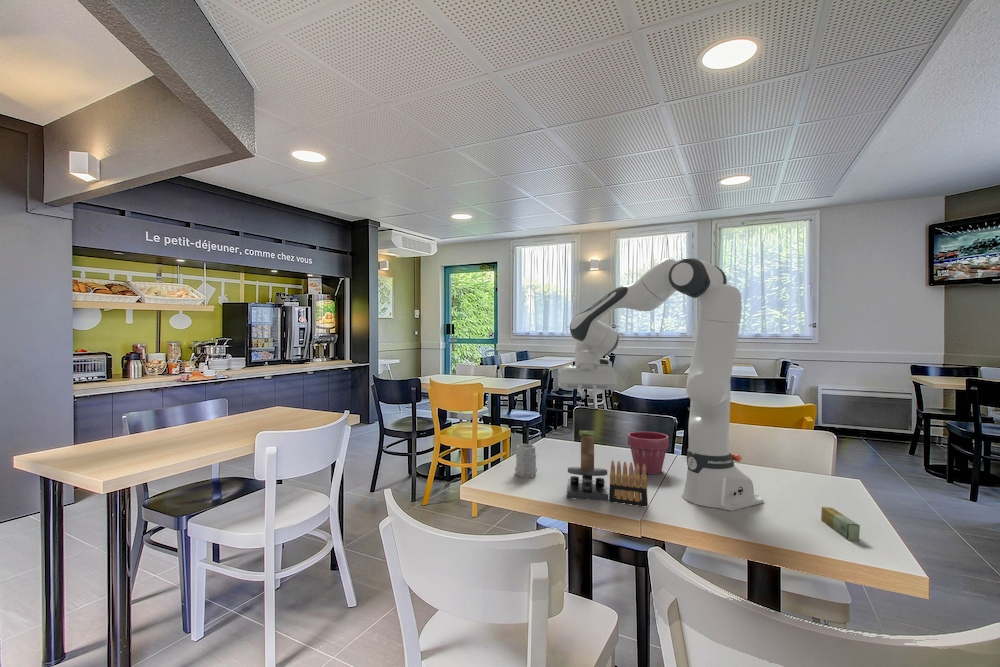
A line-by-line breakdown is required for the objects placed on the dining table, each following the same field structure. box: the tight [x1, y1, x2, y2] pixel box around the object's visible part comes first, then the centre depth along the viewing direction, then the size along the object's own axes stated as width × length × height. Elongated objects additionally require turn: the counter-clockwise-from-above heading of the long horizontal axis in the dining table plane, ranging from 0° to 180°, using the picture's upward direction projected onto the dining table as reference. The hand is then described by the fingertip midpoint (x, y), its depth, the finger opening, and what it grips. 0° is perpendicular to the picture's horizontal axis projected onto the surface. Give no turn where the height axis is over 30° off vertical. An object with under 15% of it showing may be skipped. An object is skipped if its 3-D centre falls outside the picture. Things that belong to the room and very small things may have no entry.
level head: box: [567, 430, 608, 477], centre depth 141 cm, size 12×12×13 cm
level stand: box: [566, 475, 609, 502], centre depth 140 cm, size 12×12×5 cm
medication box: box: [820, 506, 861, 542], centre depth 114 cm, size 12×3×4 cm, turn 171°
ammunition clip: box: [608, 460, 649, 508], centre depth 131 cm, size 11×2×12 cm, turn 68°
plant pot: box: [627, 431, 670, 475], centre depth 164 cm, size 14×14×13 cm
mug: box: [514, 443, 538, 478], centre depth 156 cm, size 8×12×12 cm, turn 163°
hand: (587, 397), depth 155 cm, fingers closed
